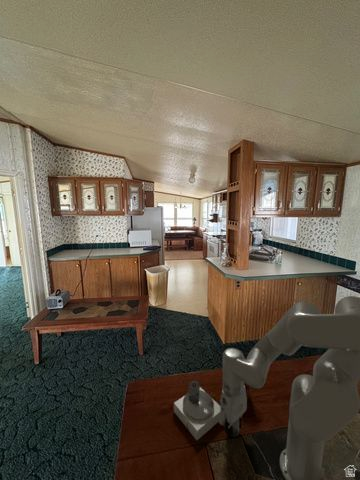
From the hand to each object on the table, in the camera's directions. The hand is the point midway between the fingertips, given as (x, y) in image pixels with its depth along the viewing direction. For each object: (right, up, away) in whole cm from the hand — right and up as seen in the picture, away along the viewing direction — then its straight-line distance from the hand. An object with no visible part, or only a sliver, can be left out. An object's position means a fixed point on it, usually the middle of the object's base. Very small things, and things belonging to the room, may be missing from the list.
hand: (233, 429), depth 78 cm
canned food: (+7, 0, +18) cm, 19 cm away
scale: (-12, -1, +7) cm, 14 cm away
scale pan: (-12, +4, +7) cm, 14 cm away
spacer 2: (0, -1, 0) cm, 1 cm away
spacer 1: (-14, +5, +9) cm, 17 cm away
